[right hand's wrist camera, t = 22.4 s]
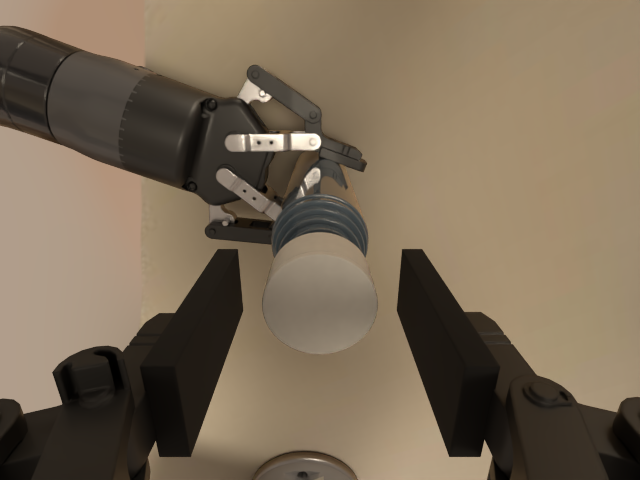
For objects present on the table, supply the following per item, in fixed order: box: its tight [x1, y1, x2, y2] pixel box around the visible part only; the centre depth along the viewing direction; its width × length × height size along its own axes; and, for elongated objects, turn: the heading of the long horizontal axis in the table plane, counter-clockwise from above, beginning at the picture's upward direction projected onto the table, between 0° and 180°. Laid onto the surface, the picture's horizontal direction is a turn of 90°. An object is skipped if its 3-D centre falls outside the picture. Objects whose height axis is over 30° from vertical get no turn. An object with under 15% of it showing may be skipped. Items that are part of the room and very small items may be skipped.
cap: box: [262, 232, 378, 354], centre depth 14 cm, size 4×4×2 cm
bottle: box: [271, 150, 368, 258], centre depth 24 cm, size 5×5×24 cm
